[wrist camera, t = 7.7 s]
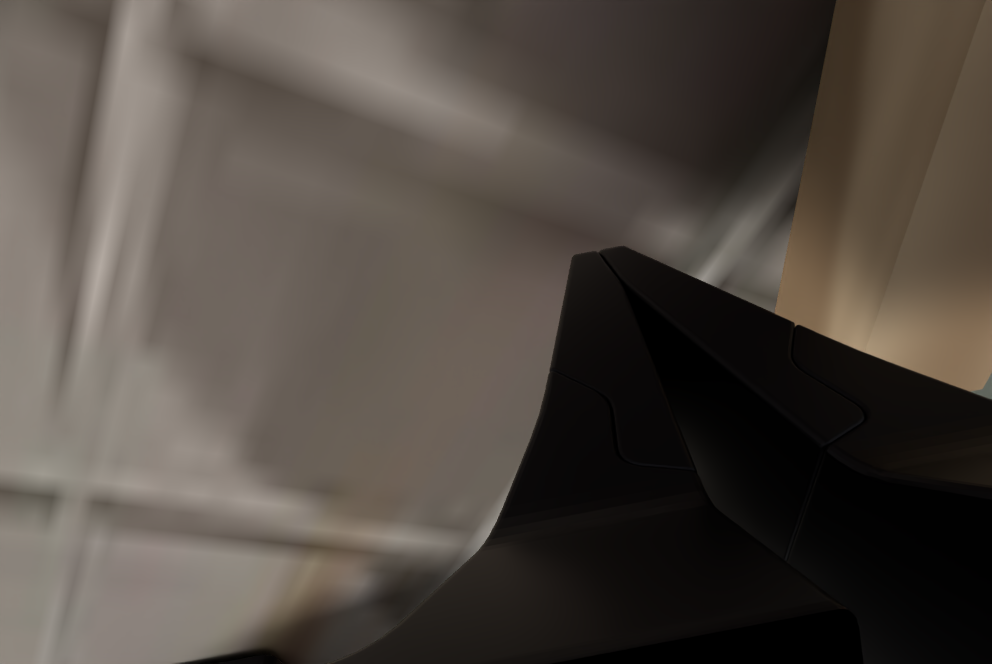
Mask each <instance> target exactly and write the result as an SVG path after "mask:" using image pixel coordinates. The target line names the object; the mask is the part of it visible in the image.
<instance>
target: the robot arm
mask: <svg viewBox="0 0 992 664" xmlns="http://www.w3.org/2000/svg"><path fill="white" fill-rule="evenodd" d="M217 664H282V663H281V662H280V661H279V659H278V658H276V657H274V656H271V655H259V656H254V657H248V658H243V659H238V660H233V661H227V662H222V663H217ZM326 664H992V399H989V398H986V397H983V396H981V395H978V394H975V393H973V392H970V391H967V390H964V389H962V388H959V387H956V386H953V385H951V384H948V383H945V382H942V381H940V380H937V379H934V378H931V377H929V376H926V375H923V374H920V373H918V372H915V371H912V370H909V369H907V368H904V367H901V366H899V365H896V364H893V363H891V362H888V361H886V360H883V359H880V358H878V357H875V356H872V355H870V354H867V353H865V352H862V351H859V350H857V349H855V348H852V347H850V346H848V345H845V344H843V343H841V342H838V341H836V340H834V339H831V338H829V337H826V336H824V335H822V334H820V333H817V332H815V331H813V330H811V329H808V328H806V327H804V326H802V325H796V326H795V323H794V322H792V321H790V320H788V319H786V318H784V317H781V316H779V315H777V314H775V313H772V312H770V311H768V310H766V309H763V308H761V307H759V306H757V305H755V304H752V303H750V302H748V301H746V300H743V299H741V298H739V297H737V296H734V295H732V294H730V293H728V292H726V291H723V290H721V289H719V288H717V287H714V286H712V285H710V284H708V283H705V282H703V281H701V280H699V279H697V278H694V277H692V276H690V275H688V274H685V273H683V272H681V271H679V270H676V269H674V268H672V267H670V266H668V265H665V264H663V263H661V262H659V261H656V260H654V259H652V258H650V257H647V256H645V255H643V254H641V253H639V252H636V251H634V250H632V249H630V248H627V247H625V246H618V247H613V248H608V249H603V250H601V251H600V252H599V253H598V252H596V251H592V252H587V253H581V254H576V255H574V256H573V257H572V260H571V265H570V270H569V275H568V280H567V285H566V290H565V295H564V300H563V305H562V310H561V315H560V321H559V326H558V331H557V336H556V341H555V346H554V351H553V356H552V361H551V366H550V373H549V375H548V380H547V385H546V390H545V394H544V397H543V401H542V405H541V409H540V413H539V416H538V419H537V422H536V425H535V428H534V430H533V433H532V436H531V439H530V442H529V444H528V447H527V449H526V451H525V454H524V456H523V459H522V461H521V464H520V466H519V469H518V471H517V474H516V476H515V478H514V481H513V483H512V486H511V488H510V491H509V493H508V496H507V498H506V501H505V503H504V506H503V508H502V510H501V513H500V515H499V517H498V519H497V522H496V524H495V526H494V527H493V529H492V531H491V533H490V535H489V537H488V538H487V540H486V541H485V543H484V544H483V545H482V547H481V548H480V549H479V551H478V552H477V553H476V554H475V555H473V556H472V557H471V558H470V559H469V560H468V561H467V562H466V563H465V564H464V565H463V566H461V567H460V568H459V569H458V570H457V571H456V572H455V573H454V574H453V575H452V576H451V577H449V578H448V579H447V580H446V581H445V582H444V583H443V584H442V585H441V586H440V587H438V588H437V589H436V590H435V591H434V592H433V593H432V594H431V595H430V596H429V597H428V598H426V599H425V600H424V601H423V602H422V603H421V604H420V605H419V606H418V607H417V608H416V609H414V610H413V611H412V612H411V613H410V614H409V615H408V616H407V617H406V618H405V619H404V620H402V621H401V622H400V623H399V624H398V625H397V626H396V627H395V628H393V629H392V630H391V631H389V632H388V633H387V634H385V635H384V636H383V637H382V638H380V639H379V640H377V641H375V642H374V643H372V644H370V645H368V646H367V647H365V648H363V649H361V650H360V651H358V652H355V653H353V654H351V655H348V656H346V657H343V658H341V659H338V660H336V661H333V662H330V663H326Z"/></svg>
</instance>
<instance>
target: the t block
mask: <svg viewBox="0 0 992 664" xmlns="http://www.w3.org/2000/svg"><path fill="white" fill-rule="evenodd" d="M775 314H777V315H779V316H781V317H784V318H786V319H788V320H790V321H792V322H794V323H795V326H796V325H802V326H804V327H806V328H808V329H811V330H813V331H815V332H817V333H820V334H822V335H824V336H826V337H829V338H831V339H834V340H836V341H838V342H841V343H843V344H845V345H848V346H850V347H852V348H855V349H857V350H859V351H862V352H865V353H867V354H870V355H872V356H875V357H878V358H880V359H883V360H886V361H888V362H891V363H893V364H896V365H899V366H901V367H904V368H907V369H909V370H912V371H915V372H918V373H920V374H923V375H926V376H929V377H931V378H934V379H937V380H940V381H942V382H945V383H948V384H951V385H953V386H956V387H959V388H962V389H964V390H967V391H975V390H981V389H983V388H984V386H985V384H986V382H987V380H988V379H989V377H990V375H991V373H992V0H836V4H835V9H834V14H833V20H832V25H831V30H830V35H829V40H828V45H827V50H826V55H825V60H824V65H823V70H822V75H821V80H820V86H819V91H818V96H817V101H816V106H815V111H814V116H813V121H812V126H811V131H810V136H809V141H808V146H807V152H806V157H805V162H804V167H803V172H802V177H801V182H800V187H799V192H798V197H797V202H796V207H795V212H794V218H793V223H792V228H791V233H790V238H789V243H788V248H787V253H786V258H785V263H784V268H783V273H782V278H781V284H780V289H779V294H778V299H777V304H776V309H775Z"/></svg>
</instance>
